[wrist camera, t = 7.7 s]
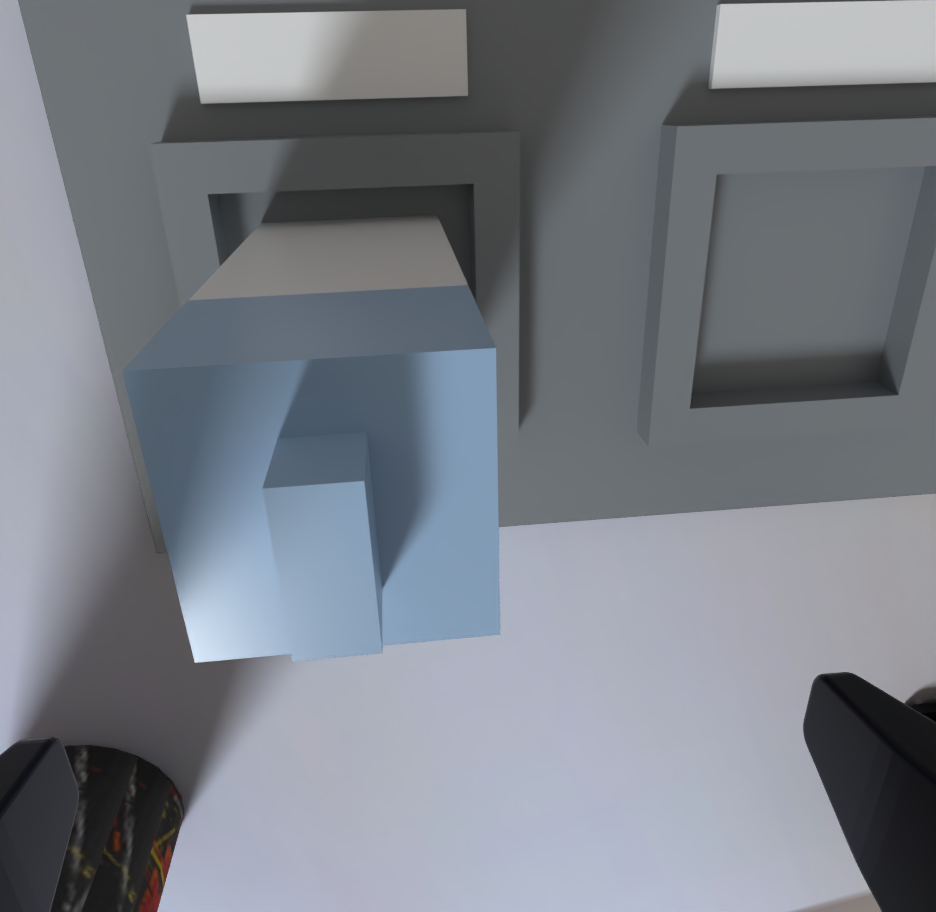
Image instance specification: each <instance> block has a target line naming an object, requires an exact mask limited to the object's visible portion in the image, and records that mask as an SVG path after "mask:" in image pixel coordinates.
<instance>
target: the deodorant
mask: <svg viewBox="0 0 936 912" xmlns="http://www.w3.org/2000/svg"><path fill="white" fill-rule="evenodd" d="M64 748H65V751H66V754H67V756H68V759H69V762H70V765H71V768H72V771H73V774H74V776H75V779H76V782H77V786H78V792H79V800H78V807H77V812H76V815H75V819H74V823H73V827H72V830H71V834H70V838H69V842H68V846H67V849H66V853H65V857H64V861H63V864H62V868H61V872H60V876H59V880H58V883H57V887H56V891H55V895H54V898H53V902H52V906H51V910H50V912H157V910H158V907H159V903H160V899H161V896H162V892H163V888H164V885H165V881H166V878H167V874H168V870H169V867H170V863H171V859H172V856H173V852H174V849H175V845H176V841H177V838H178V834H179V830H180V827H181V822H182V818H183V814H184V811H183V805H182V799H181V796H180V794H179V792H178V791H177V789H176V787H175V786H174V784H173V782H172V781H171V780H170V779H169V778H168V777H167V776H166V775H165V774H164V773H162V772H161V771H160V770H159V769H158V768H157V767H155V766H153V765H152V764H150V763H148V762H146V761H145V760H143V759H141V758H139V757H137V756H134V755H131V754H128V753H125V752H122V751H119V750H116V749H110V748H103V747H96V746H68V747H64Z"/></svg>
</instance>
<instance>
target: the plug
mask: <svg viewBox="0 0 936 912" xmlns="http://www.w3.org/2000/svg"><path fill="white" fill-rule="evenodd" d="M122 373H123V377H124V381H125V385H126V389H127V393H128V397H129V401H130V405H131V409H132V413H133V417H134V421H135V425H136V429H137V433H138V437H139V441H140V445H141V449H142V453H143V457H144V461H145V465H146V469H147V473H148V477H149V481H150V485H151V489H152V493H153V497H154V501H155V505H156V509H157V513H158V517H159V521H160V525H161V529H162V533H163V537H164V541H165V545H166V549H167V553H168V557H169V561H170V565H171V569H172V573H173V577H174V581H175V585H176V589H177V593H178V597H179V601H180V605H181V609H182V613H183V617H184V621H185V625H186V629H187V633H188V637H189V641H190V645H191V649H192V653H193V657H194V661H195V663H198V662H209V661H220V660H231V659H242V658H253V657H263V656H274V655H285V654H291V656H292V662H293V661H304V660H315V659H325V658H336V657H347V656H358V655H368V654H379V653H382V645H393V644H404V643H415V642H426V641H437V640H447V639H458V638H469V637H480V636H491V635H500V589H499V520H498V450H497V380H496V347H495V344H494V342H493V340H492V338H491V335H490V333H489V331H488V329H487V326H486V324H485V322H484V320H483V317H482V315H481V313H480V311H479V308H478V306H477V304H476V302H475V299H474V297H473V295H472V293H471V290H470V288H469V286H468V284H467V281H466V279H465V277H464V275H463V272H462V270H461V268H460V266H459V263H458V261H457V259H456V257H455V254H454V252H453V250H452V248H451V245H450V243H449V241H448V239H447V236H446V234H445V232H444V230H443V227H442V225H441V223H440V221H439V218H438V216H437V215H426V216H405V217H384V218H362V219H341V220H320V221H299V222H278V223H261V224H260V225H259V226H258V227H257V228H256V229H255V230H254V231H253V232H252V233H251V234H250V235H249V236H248V237H247V238H246V240H245V241H244V242H243V243H242V244H241V245H240V246H239V247H238V248H237V249H236V250H235V251H234V252H233V253H232V254H231V256H230V257H229V258H228V259H227V260H226V261H225V262H224V263H223V264H222V265H221V266H220V267H219V268H218V269H217V270H216V271H215V273H214V274H213V275H212V276H211V277H210V278H209V279H208V280H207V281H206V282H205V283H204V284H203V285H202V286H201V287H200V288H199V290H198V291H197V292H196V293H195V294H194V295H193V296H192V297H191V298H190V299H189V300H188V301H187V302H186V303H185V304H184V305H183V307H182V308H181V309H180V310H179V311H178V312H177V313H176V314H175V315H174V316H173V317H172V318H171V319H170V320H169V321H168V322H167V324H166V325H165V326H164V327H163V328H162V329H161V330H160V331H159V332H158V333H157V334H156V335H155V336H154V337H153V338H152V340H151V341H150V342H149V343H148V344H147V345H146V346H145V347H144V348H143V349H142V350H141V351H140V352H139V353H138V354H137V355H136V357H135V358H134V359H133V360H132V361H131V362H130V363H129V364H128V365H127V366H126V367H125V368H124V369H123V370H122Z"/></svg>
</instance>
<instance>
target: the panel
mask: <svg viewBox="0 0 936 912" xmlns="http://www.w3.org/2000/svg"><path fill="white" fill-rule="evenodd" d="M18 2H19V6H20V10H21V14H22V18H23V22H24V26H25V30H26V34H27V38H28V42H29V46H30V50H31V54H32V58H33V62H34V66H35V70H36V74H37V78H38V82H39V86H40V90H41V94H42V98H43V102H44V106H45V110H46V114H47V118H48V122H49V126H50V130H51V134H52V138H53V142H54V146H55V150H56V154H57V158H58V162H59V166H60V169H61V173H62V177H63V181H64V185H65V189H66V193H67V197H68V201H69V205H70V209H71V213H72V217H73V221H74V225H75V229H76V233H77V237H78V241H79V245H80V249H81V253H82V257H83V261H84V265H85V269H86V273H87V277H88V281H89V285H90V289H91V293H92V297H93V301H94V305H95V309H96V313H97V317H98V321H99V325H100V329H101V333H102V337H103V340H104V344H105V348H106V352H107V356H108V360H109V364H110V368H111V372H112V376H113V380H114V384H115V388H116V392H117V396H118V400H119V404H120V408H121V412H122V416H123V420H124V424H125V428H126V432H127V436H128V440H129V444H130V448H131V452H132V456H133V460H134V464H135V468H136V472H137V476H138V480H139V484H140V488H141V492H142V496H143V500H144V504H145V508H146V512H147V515H148V519H149V523H150V527H151V531H152V535H153V539H154V543H155V547H156V551H157V553H166V552H167V549H166V545H165V541H164V537H163V533H162V529H161V525H160V521H159V517H158V513H157V509H156V505H155V501H154V497H153V493H152V489H151V485H150V481H149V477H148V473H147V469H146V465H145V461H144V457H143V453H142V449H141V445H140V441H139V437H138V433H137V429H136V425H135V421H134V417H133V413H132V409H131V405H130V401H129V397H128V393H127V389H126V385H125V381H124V377H123V373H122V370H123V369H124V368H125V367H126V366H127V365H128V364H129V363H130V362H131V361H132V360H133V359H134V358H135V357H136V355H137V354H138V353H139V352H140V351H141V350H142V349H143V348H144V347H145V346H146V345H147V344H148V343H149V342H150V341H151V340H152V338H153V337H154V336H155V335H156V334H157V333H158V332H159V331H160V330H161V329H162V328H163V327H164V326H165V325H166V324H167V322H168V321H169V320H170V319H171V318H172V317H173V316H174V315H175V314H176V313H177V312H178V311H179V310H180V309H181V308H182V307H183V305H184V304H185V303H186V302H187V301H188V300H189V299H190V298H191V297H192V296H193V295H194V294H195V293H196V292H197V291H198V290H199V288H200V287H201V286H202V285H203V284H204V283H205V282H206V281H207V280H208V279H209V278H210V277H211V276H212V275H213V274H214V273H215V271H216V270H217V269H218V268H219V267H220V266H221V265H222V264H223V263H224V262H225V261H226V260H227V259H228V258H229V257H230V256H231V254H232V253H233V252H234V251H235V250H236V249H237V248H238V247H239V246H240V245H241V244H242V243H243V242H244V241H245V240H246V238H247V237H248V236H249V235H250V234H251V233H252V232H253V231H254V230H255V229H256V228H257V227H258V226H259V225H260V224H261V223H278V222H299V221H320V220H341V219H362V218H384V217H405V216H426V215H437V216H438V218H439V221H440V223H441V225H442V227H443V230H444V232H445V234H446V236H447V239H448V241H449V243H450V245H451V248H452V250H453V252H454V254H455V257H456V259H457V261H458V263H459V266H460V268H461V270H462V272H463V275H464V277H465V279H466V281H467V284H468V286H469V288H470V290H471V293H472V295H473V297H474V299H475V302H476V304H477V306H478V308H479V311H480V313H481V315H482V317H483V320H484V322H485V324H486V326H487V329H488V331H489V333H490V335H491V338H492V340H493V342H494V344H495V347H496V380H497V450H498V520H499V527H505V526H518V525H531V524H544V523H557V522H570V521H583V520H596V519H609V518H622V517H635V516H649V515H662V514H675V513H688V512H701V511H714V510H727V509H740V508H753V507H766V506H779V505H792V504H805V503H818V502H831V501H844V500H857V499H870V498H883V497H896V496H909V495H922V494H935V493H936V0H18Z"/></svg>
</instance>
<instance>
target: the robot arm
mask: <svg viewBox="0 0 936 912" xmlns="http://www.w3.org/2000/svg"><path fill="white" fill-rule="evenodd" d="M803 732H804V738H805V741H806V744H807V747H808V749H809V752H810V754H811V756H812V759H813V761H814V764H815V766H816V768H817V771H818V773H819V776H820V778H821V780H822V783H823V785H824V788H825V790H826V792H827V795H828V797H829V800H830V802H831V804H832V807H833V809H834V812H835V814H836V816H837V819H838V821H839V824H840V826H841V828H842V831H843V833H844V836H845V838H846V840H847V843H848V845H849V847H850V850H851V852H852V854H853V856H854V858H855V861H856V863H857V865H858V867H859V869H860V871H861V873H862V875H863V877H864V879H865V881H866V883H867V885H868V887H869V888H870V890H871V892H872V894H873V896H874V898H875V900H876V901H877V903H878V905H879V907H880V909H881V910H882V912H936V703H927V704H918V705H914V706H911V707H909V706H907V705H906V704H904V703H902V702H901V701H899V700H897V699H896V698H894V697H892V696H891V695H889V694H887V693H885V692H884V691H882V690H880V689H879V688H877V687H875V686H874V685H872V684H870V683H869V682H867V681H865V680H864V679H862V678H860V677H859V676H857V675H855V674H853V673H849V672H840V673H828V674H821V675H818V676H817V677H816V678H815V679H814V681H813V684H812V688H811V692H810V697H809V701H808V705H807V709H806V714H805V718H804V723H803ZM78 800H79V792H78V786H77V782H76V779H75V776H74V774H73V771H72V768H71V765H70V762H69V759H68V756H67V754H66V751H65V748H64V746H63V743H62V742H61V741H60V740H59V739H58V738H55V737H45V738H33V739H24V740H20V741H18V742H16V743H15V744H13V745H12V746H11V747H9V748H8V749H7V750H6V751H4V752H3V753H2V754H1V755H0V912H50V910H51V906H52V902H53V898H54V895H55V891H56V887H57V883H58V880H59V876H60V872H61V868H62V864H63V861H64V857H65V853H66V849H67V846H68V842H69V838H70V834H71V830H72V827H73V823H74V819H75V815H76V812H77V807H78Z"/></svg>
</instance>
